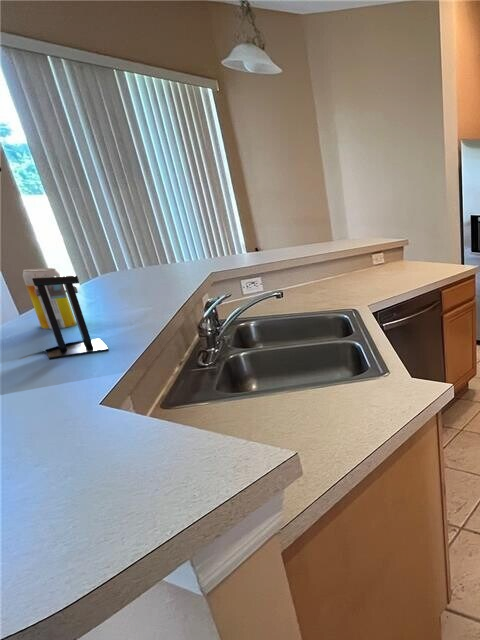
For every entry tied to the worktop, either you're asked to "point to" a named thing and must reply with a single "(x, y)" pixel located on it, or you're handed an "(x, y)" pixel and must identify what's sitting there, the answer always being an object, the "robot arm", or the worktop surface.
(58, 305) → the yellow pill bottle
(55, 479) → the worktop surface
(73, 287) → the black stand frame
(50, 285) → the lever
